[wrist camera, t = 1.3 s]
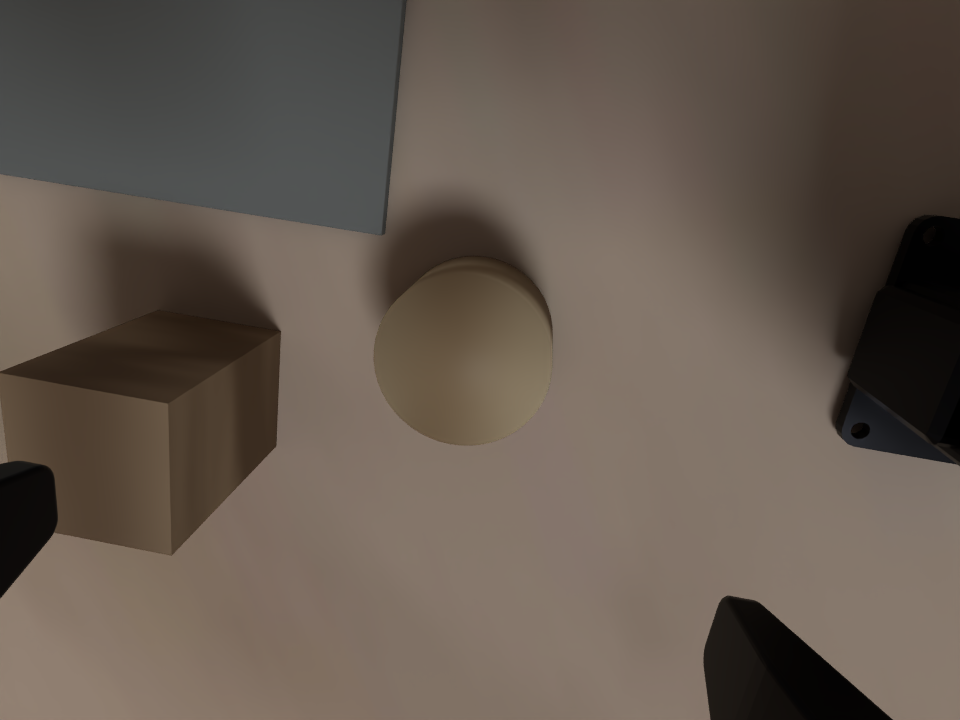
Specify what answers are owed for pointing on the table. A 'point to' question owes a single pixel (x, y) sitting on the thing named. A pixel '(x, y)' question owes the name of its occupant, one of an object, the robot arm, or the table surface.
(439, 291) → the beige round knob
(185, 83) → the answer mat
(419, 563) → the table surface
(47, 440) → the walnut block
